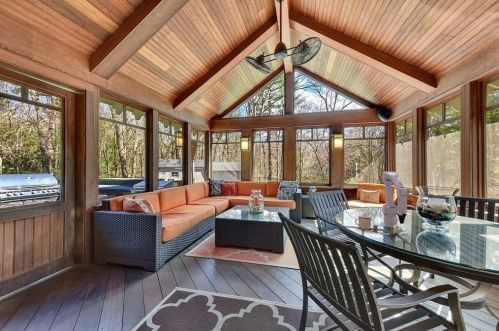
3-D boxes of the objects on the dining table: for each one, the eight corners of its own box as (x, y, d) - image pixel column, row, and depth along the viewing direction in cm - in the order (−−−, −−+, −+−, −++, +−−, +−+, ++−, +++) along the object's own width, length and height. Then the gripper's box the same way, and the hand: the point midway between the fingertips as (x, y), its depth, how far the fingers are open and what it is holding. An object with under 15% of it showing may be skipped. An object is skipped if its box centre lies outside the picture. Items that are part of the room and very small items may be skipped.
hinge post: (391, 235, 169) (391, 225, 168) (394, 236, 167) (394, 226, 167) (389, 235, 168) (389, 226, 168) (392, 236, 166) (392, 226, 166)
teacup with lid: (367, 226, 191) (367, 211, 190) (373, 229, 181) (373, 214, 181) (352, 226, 191) (352, 211, 190) (357, 229, 182) (357, 214, 181)
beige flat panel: (393, 234, 168) (393, 228, 168) (391, 234, 169) (391, 227, 169) (397, 231, 176) (397, 225, 176) (395, 230, 177) (395, 224, 177)
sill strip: (375, 230, 179) (375, 230, 179) (389, 234, 169) (389, 234, 169) (374, 230, 178) (374, 230, 178) (388, 235, 168) (388, 234, 168)
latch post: (374, 230, 178) (374, 224, 178) (377, 231, 176) (377, 225, 176) (373, 231, 178) (373, 224, 177) (376, 232, 175) (376, 225, 175)
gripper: (397, 202, 179) (396, 220, 179) (394, 205, 167) (393, 224, 168) (408, 204, 174) (408, 222, 174) (405, 206, 163) (405, 226, 163)
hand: (401, 223), depth 171 cm, fingers closed
